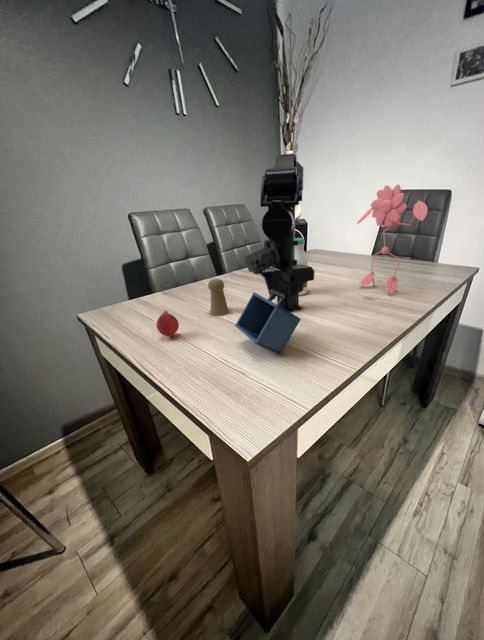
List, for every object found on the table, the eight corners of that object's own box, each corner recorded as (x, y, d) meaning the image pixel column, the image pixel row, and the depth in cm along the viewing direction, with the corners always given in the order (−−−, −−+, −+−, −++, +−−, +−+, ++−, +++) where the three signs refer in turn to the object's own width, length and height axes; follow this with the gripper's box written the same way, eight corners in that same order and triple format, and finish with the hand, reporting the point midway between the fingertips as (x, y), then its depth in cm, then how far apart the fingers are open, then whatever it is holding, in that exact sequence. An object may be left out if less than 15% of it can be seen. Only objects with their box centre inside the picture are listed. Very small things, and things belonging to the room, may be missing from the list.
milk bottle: (294, 297, 103) (294, 241, 93) (283, 292, 109) (283, 238, 100) (310, 293, 106) (313, 238, 96) (299, 288, 112) (300, 236, 102)
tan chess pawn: (225, 315, 91) (221, 282, 85) (208, 314, 92) (203, 282, 87) (230, 308, 96) (227, 277, 90) (214, 308, 97) (210, 277, 92)
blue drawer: (281, 294, 74) (259, 280, 69) (308, 307, 65) (285, 292, 60) (257, 336, 76) (234, 325, 71) (280, 354, 67) (256, 343, 62)
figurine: (358, 281, 117) (370, 186, 100) (417, 295, 98) (444, 181, 80) (333, 288, 110) (341, 188, 92) (390, 305, 91) (414, 182, 73)
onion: (169, 343, 75) (162, 316, 71) (155, 338, 78) (148, 312, 74) (185, 334, 79) (179, 308, 75) (171, 331, 82) (165, 305, 78)
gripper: (231, 234, 65) (235, 298, 72) (270, 242, 50) (270, 321, 57) (272, 232, 69) (272, 292, 76) (318, 238, 54) (313, 312, 62)
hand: (280, 303), depth 68 cm, fingers closed on blue drawer, 7 cm apart
